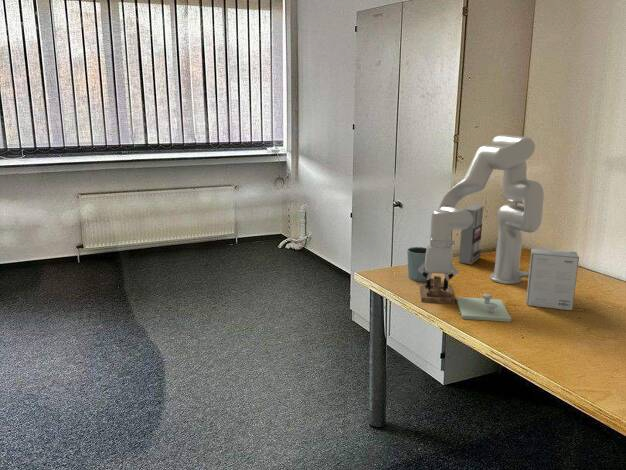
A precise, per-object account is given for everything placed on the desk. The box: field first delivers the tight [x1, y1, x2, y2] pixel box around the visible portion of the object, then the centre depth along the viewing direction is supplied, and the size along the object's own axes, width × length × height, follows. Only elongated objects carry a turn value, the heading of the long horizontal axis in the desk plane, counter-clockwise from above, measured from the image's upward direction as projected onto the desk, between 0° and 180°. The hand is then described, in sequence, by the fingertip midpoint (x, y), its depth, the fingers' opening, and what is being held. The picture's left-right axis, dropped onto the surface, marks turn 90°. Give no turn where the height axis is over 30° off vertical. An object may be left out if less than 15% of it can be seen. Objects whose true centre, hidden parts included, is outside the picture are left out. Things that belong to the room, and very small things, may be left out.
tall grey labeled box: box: [458, 204, 485, 265], centre depth 252 cm, size 14×6×25 cm, turn 147°
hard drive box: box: [525, 248, 580, 311], centre depth 199 cm, size 16×8×20 cm, turn 71°
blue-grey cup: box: [406, 246, 428, 282], centre depth 228 cm, size 10×10×12 cm
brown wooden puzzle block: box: [418, 275, 456, 305], centre depth 209 cm, size 12×16×7 cm
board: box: [455, 293, 512, 323], centre depth 194 cm, size 16×18×4 cm
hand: (436, 289), depth 209 cm, fingers open, 5 cm apart
